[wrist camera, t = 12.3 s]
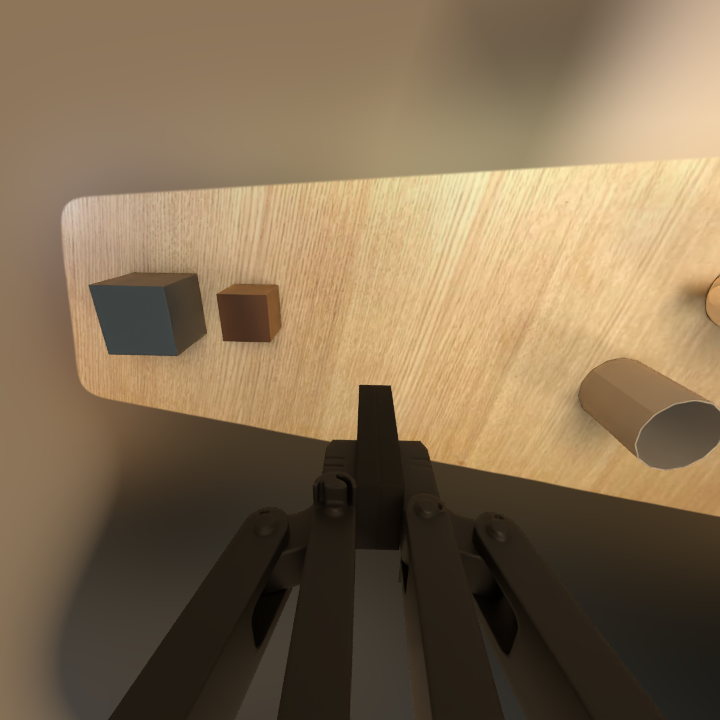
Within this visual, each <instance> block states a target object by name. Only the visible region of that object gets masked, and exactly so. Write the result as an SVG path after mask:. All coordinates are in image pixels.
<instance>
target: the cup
mask: <svg viewBox="0 0 720 720" xmlns="http://www.w3.org/2000/svg"><path fill="white" fill-rule="evenodd" d="M579 398H580V402H581V405H582V408H584V409H585V410H586V411H587V412H588V413H589V414H590V415H591V416H592V417H593V418H594V419H596V420H597V421H598V422H599V423H600V424H601V425H602V426H603V427H604V428H605V429H606V430H608V431H609V432H610V433H611V434H612V435H613V436H614V437H615V438H616V439H617V440H618V441H619V442H621V443H622V444H623V445H624V446H625V447H626V448H627V449H628V450H629V451H630V452H631V453H633V454H634V455H635V456H636V457H637V458H638V459H639V460H640V461H642V462H643V463H644V464H645V465H646V466H648V467H649V468H654V469H659V470H664V471H667V470H673V469H679V468H685V467H687V466H689V465H691V464H693V463H695V462H698V461H700V460H702V459H704V458H705V457H706V456H707V455H708V454H709V453H710V452H711V451H712V450H714V449H715V448H716V447H717V446H718V445H719V443H720V409H719V408H718V407H717V406H716V405H715V404H714V403H712V402H711V401H709V400H707V399H705V398H703V397H702V396H700V395H698V394H696V393H694V392H693V391H691V390H689V389H687V388H685V387H684V386H682V385H680V384H678V383H677V382H675V381H673V380H671V379H669V378H668V377H666V376H664V375H662V374H660V373H659V372H657V371H655V370H653V369H652V368H650V367H648V366H646V365H644V364H643V363H641V362H639V361H636V360H631V359H627V358H620V359H615V360H610V361H606V362H605V363H603V364H601V365H600V366H598V367H596V368H595V369H593V370H592V371H591V372H590V373H589V375H588V376H587V377H586V378H585V380H584V381H583V382H582V385H581V389H580V392H579Z"/></svg>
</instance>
